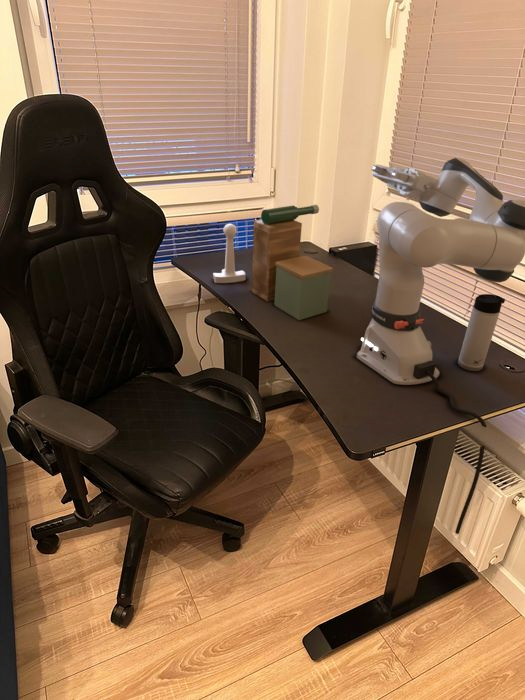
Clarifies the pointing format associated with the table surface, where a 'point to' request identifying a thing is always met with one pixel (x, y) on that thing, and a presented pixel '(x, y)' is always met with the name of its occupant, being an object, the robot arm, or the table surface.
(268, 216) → the bottle
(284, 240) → the shelf
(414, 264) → the robot arm
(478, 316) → the travel mug
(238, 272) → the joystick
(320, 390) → the table surface
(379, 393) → the table surface
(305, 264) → the block
